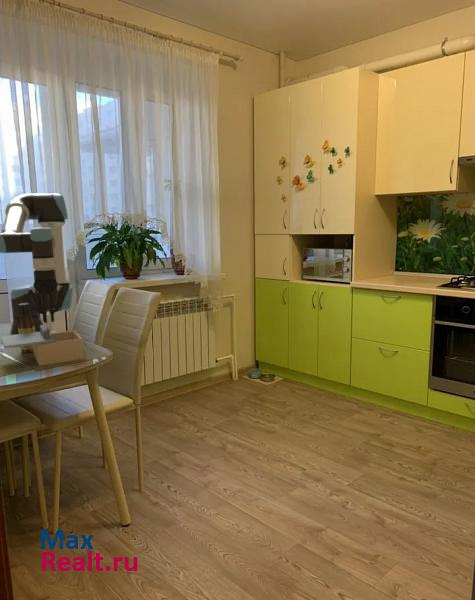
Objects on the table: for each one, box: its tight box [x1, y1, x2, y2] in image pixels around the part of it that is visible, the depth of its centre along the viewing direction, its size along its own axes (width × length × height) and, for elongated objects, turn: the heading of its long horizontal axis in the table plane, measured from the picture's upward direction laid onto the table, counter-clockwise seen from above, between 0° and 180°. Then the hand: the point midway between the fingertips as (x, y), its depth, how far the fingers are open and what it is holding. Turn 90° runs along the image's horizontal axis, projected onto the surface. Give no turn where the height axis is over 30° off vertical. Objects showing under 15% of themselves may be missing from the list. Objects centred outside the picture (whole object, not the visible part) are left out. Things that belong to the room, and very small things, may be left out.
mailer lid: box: [0, 324, 55, 349], centre depth 176 cm, size 17×17×4 cm
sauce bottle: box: [18, 303, 35, 354], centre depth 190 cm, size 7×6×20 cm
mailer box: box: [32, 329, 85, 367], centre depth 182 cm, size 16×16×8 cm
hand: (49, 330), depth 180 cm, fingers closed
